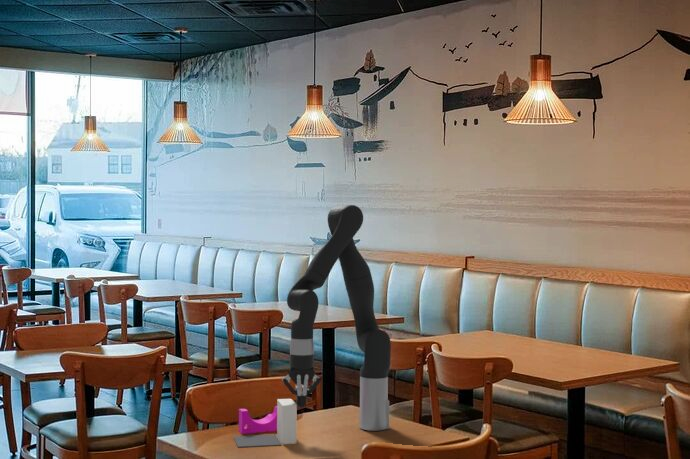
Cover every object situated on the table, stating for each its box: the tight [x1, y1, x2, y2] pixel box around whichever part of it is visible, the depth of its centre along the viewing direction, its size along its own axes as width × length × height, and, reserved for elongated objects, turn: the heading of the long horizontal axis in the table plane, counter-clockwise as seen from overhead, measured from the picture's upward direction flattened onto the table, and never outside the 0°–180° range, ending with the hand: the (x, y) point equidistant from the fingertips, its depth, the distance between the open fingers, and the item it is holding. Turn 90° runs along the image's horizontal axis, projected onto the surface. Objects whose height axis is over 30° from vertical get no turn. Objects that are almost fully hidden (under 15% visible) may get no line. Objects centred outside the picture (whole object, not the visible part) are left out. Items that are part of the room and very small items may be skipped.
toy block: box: [238, 405, 277, 435], centre depth 298 cm, size 15×6×8 cm, turn 113°
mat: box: [232, 434, 283, 448], centre depth 282 cm, size 13×13×1 cm
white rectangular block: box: [276, 398, 298, 445], centre depth 284 cm, size 4×10×12 cm, turn 13°
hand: (301, 407), depth 285 cm, fingers closed
